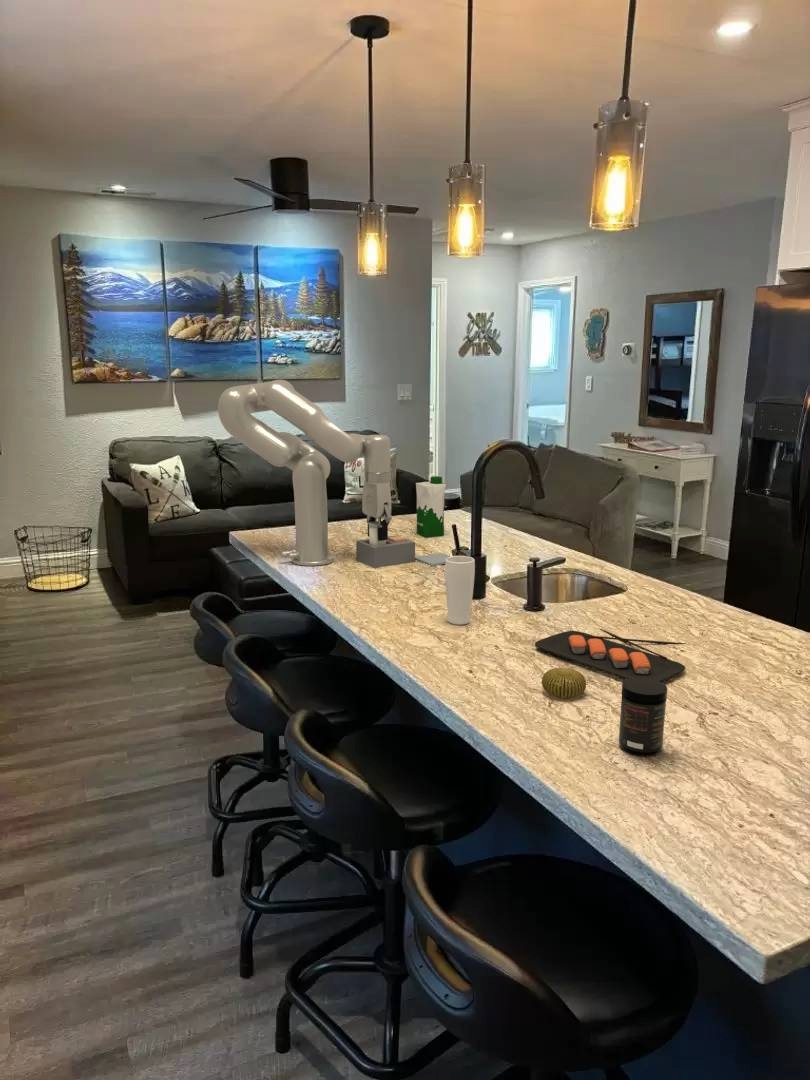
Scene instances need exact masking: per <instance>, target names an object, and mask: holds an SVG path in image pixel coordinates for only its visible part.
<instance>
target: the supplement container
mask: <svg viewBox="0 0 810 1080" xmlns="http://www.w3.org/2000/svg"><path fill="white" fill-rule="evenodd" d="M621 684H622V685H621V700H620V714H619V716H620V717H619V730H618V744H619V746H620V748H621V749H622V750H623V751H625V752H626V753H628V754H631V755H634V756H638V757H652V756H656V755H657V754H659V753H660V752H661V751H662V749H663V743H664V731H665V719H666V708H667V704H666V703H667V699H668V697H667V696H668V686H667V685H666V684H665V683H663V682H659V681H657V680H654V679H649V678H629V679H623V681H622V683H621Z"/></svg>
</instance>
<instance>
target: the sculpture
mask: <svg viewBox="0 0 810 1080" xmlns="http://www.w3.org/2000/svg"><path fill="white" fill-rule="evenodd" d="M586 680H587V679H586V677H584V675H583V674H582V673H581V672H579V671H578V670H575V669H572V668H568V667H555V668H551V669H548V670H547V671H546V672H545V673H544V674H543V676H542V678H541V685H542V689H543V690H544V691H545V692H546V693H547V694H548V695H550V696H551V697H553V698H556V699H557V698H558V699H564V700H565V699H567V700H568V699H575V698H577V697H580V696H581V695H582V694H584V692H585V691H586V688H587V681H586Z"/></svg>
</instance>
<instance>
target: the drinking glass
mask: <svg viewBox="0 0 810 1080" xmlns="http://www.w3.org/2000/svg"><path fill="white" fill-rule="evenodd" d="M475 562H476V561H475V558H473V557H472V556H467V555H453V556H451V557H448V558H446V562H445V565H444V580H445V596H446V606H447V607H446V608H447V610H446V611H447V621H448V623H450V624H452V625H458V626H461V625H462V626H463V625H467V624H469V623H470V622H471V617H472V603H473V595H474V585H475V577H476V576H475V574H476V571H475V570H476V569H475V568H476V563H475Z"/></svg>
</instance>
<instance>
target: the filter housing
mask: <svg viewBox="0 0 810 1080" xmlns="http://www.w3.org/2000/svg"><path fill="white" fill-rule="evenodd" d="M396 536H398V535H397V534H396V535H388V537H396ZM355 543H356V544H355V545H356V547H355V548H356V549H355V551H356V552H355V553H356V556H355V557H356V561H358V562H360V563H361V564H362V563H363V564H364V565H367V566H369V567H371V568H373V569H377V568H383V567H389V566H396V565H402V564H409V563H415V562H416V560H415V557H416V542H415V541H413V540H410V539H407V538H406V541H400V542H392V541H390V540H388V539H387V540H386V544H384V545H377V546H372V545H370V544H369V538H366V539H358V540H355Z"/></svg>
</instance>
